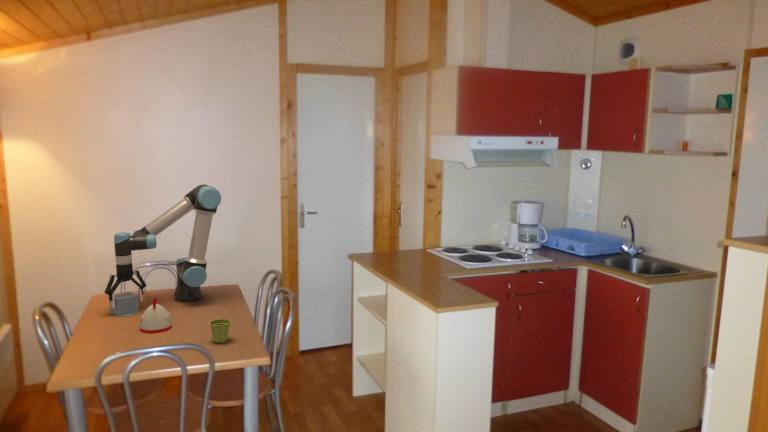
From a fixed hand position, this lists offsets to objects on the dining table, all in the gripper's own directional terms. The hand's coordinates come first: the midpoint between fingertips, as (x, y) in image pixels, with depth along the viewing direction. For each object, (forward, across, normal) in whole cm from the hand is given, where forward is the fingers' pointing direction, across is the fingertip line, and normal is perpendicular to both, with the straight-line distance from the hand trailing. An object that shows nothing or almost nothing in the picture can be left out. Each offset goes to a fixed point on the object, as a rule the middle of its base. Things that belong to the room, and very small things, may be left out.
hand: (127, 304), depth 291 cm
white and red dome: (+5, 0, +33) cm, 33 cm away
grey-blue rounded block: (+5, +1, -2) cm, 5 cm away
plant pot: (+6, -13, +68) cm, 69 cm away
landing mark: (+5, +1, 0) cm, 5 cm away
